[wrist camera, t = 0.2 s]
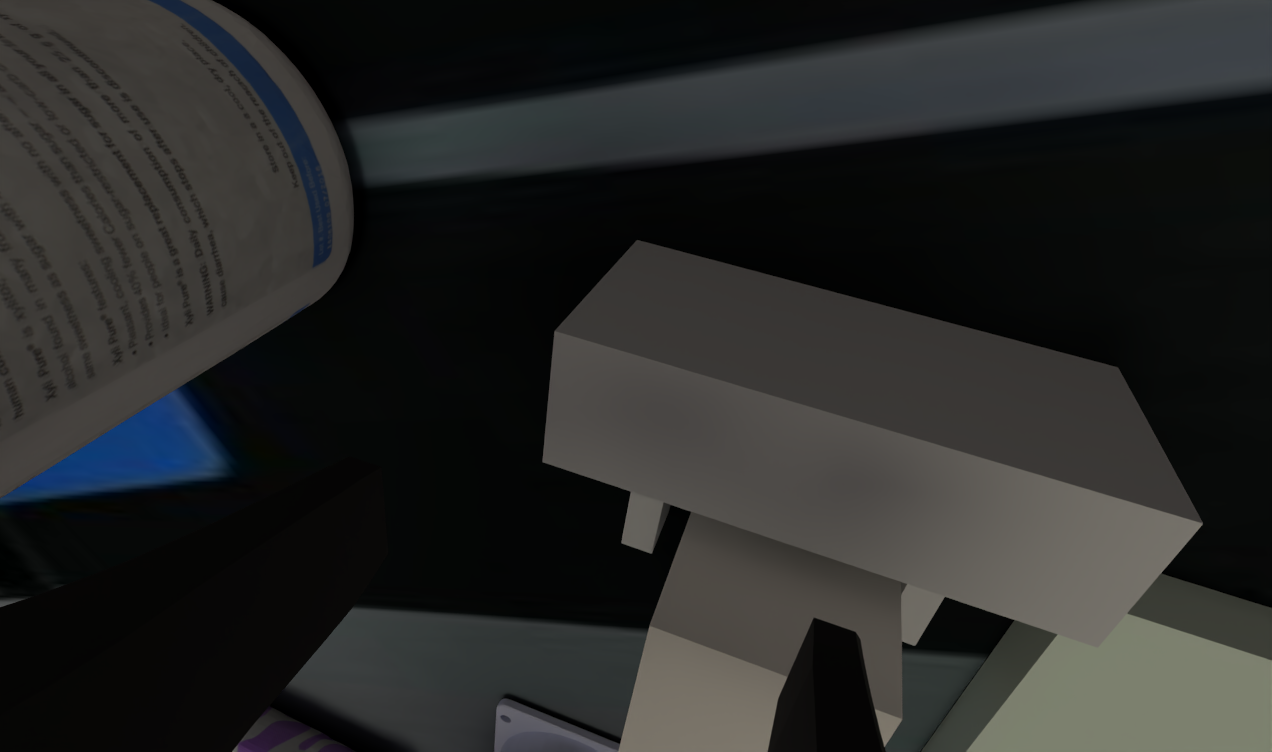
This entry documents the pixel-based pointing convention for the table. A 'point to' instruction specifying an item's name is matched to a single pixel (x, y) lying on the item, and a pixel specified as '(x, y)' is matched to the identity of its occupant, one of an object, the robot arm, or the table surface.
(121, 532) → the table surface
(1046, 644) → the tray
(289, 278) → the supplement tub
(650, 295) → the dock
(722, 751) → the taupe rectangular block
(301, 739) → the pencil case
